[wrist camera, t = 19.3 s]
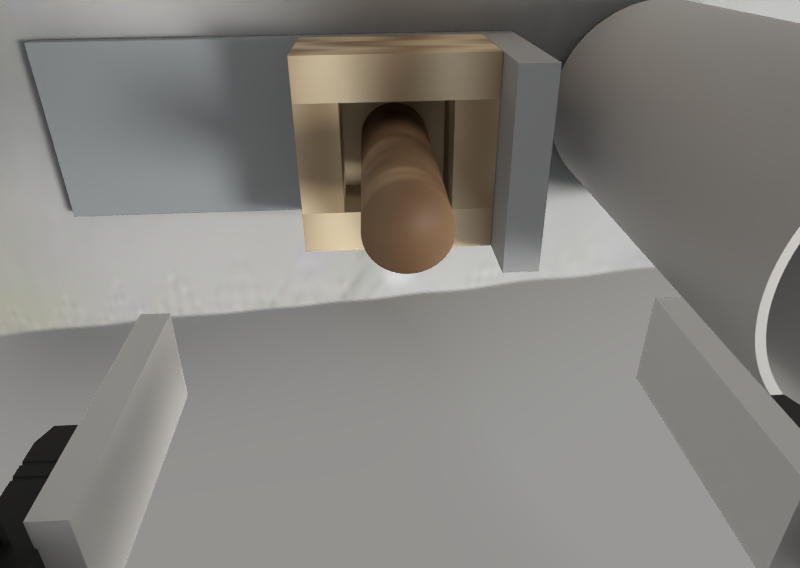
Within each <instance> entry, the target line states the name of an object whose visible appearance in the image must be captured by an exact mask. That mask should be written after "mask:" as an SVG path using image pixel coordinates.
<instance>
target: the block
mask: <svg viewBox="0 0 800 568" xmlns="http://www.w3.org/2000/svg"><path fill="white" fill-rule="evenodd" d="M503 53H504V51H503V50H501V49H500V48H499V47H498V46H496V45H495V44H494V43H493V42H491V41H490V40H489V39H488V38H487V37H485V36H484V35H483V34H443V35H393V36H343V37H298V39H297V41H296V42H295V44H294V46H293V47H292V49H291V51H290V52H289V54H288V56H287V58H288V69H289V79H290V90H291V100H292V111H293V121H294V132H295V142H296V152H297V163H298V173H299V184H300V194H301V205H302V215H303V226H304V236H305V247H306V252H311V251H339V250H365V249H364V246H363V244H362V240H361V136H362V127H363V124H364V122H365V120H366V118H367V116H368V115H369V114H370V113H371V112H372V111H373V110H374V109H376V108H377V107H379V106H381V105H383V104H387V103H402V104H405V105H408V106H410V107H412V108H413V109H414V110H416V111H417V112H418V113H419V114H420V116H421V117H422V119H423V121H424V123H425V126H426V129H427V133H428V136H429V139H430V142H431V145H432V148H433V152H434V155H435V158H436V161H437V164H438V167H439V171H440V174H441V177H442V180H443V183H444V186H445V190H446V193H447V196H448V199H449V202H450V205H451V209H452V212H453V215H454V218H455V223H456V235H455V240H454V243H453V245H452V247H455V246H483V245H491V232H492V217H493V202H494V187H495V172H496V157H497V143H498V128H499V113H500V98H501V83H502V68H503Z"/></svg>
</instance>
